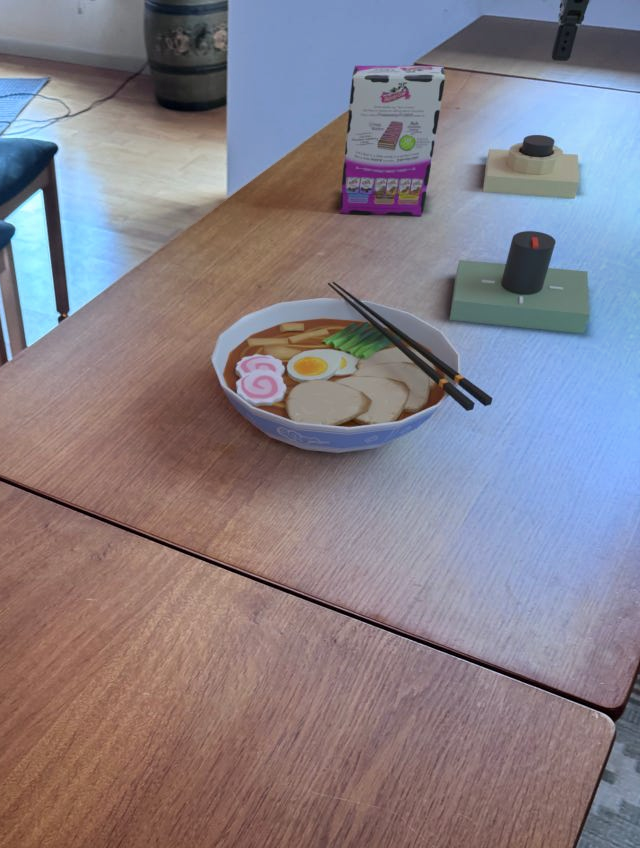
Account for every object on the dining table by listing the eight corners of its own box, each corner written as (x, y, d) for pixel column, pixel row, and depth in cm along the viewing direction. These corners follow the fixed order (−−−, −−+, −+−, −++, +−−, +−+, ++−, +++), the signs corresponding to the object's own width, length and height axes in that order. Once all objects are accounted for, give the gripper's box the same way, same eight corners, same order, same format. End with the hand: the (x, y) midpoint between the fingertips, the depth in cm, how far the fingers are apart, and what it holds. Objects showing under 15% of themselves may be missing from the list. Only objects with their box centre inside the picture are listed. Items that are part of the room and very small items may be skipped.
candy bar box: (422, 202, 123) (446, 64, 111) (422, 217, 120) (447, 77, 108) (339, 199, 125) (353, 62, 113) (337, 214, 121) (352, 75, 109)
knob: (500, 274, 102) (512, 227, 98) (541, 277, 101) (554, 229, 97) (501, 293, 99) (514, 244, 95) (543, 295, 98) (558, 247, 94)
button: (550, 149, 125) (554, 135, 124) (551, 160, 122) (554, 146, 121) (520, 147, 126) (524, 133, 124) (520, 158, 123) (523, 144, 122)
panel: (579, 296, 104) (587, 269, 102) (581, 340, 98) (590, 312, 95) (454, 284, 107) (459, 258, 105) (447, 326, 101) (453, 298, 98)
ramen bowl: (171, 387, 94) (169, 313, 88) (365, 340, 99) (376, 267, 93) (278, 532, 78) (284, 453, 72) (503, 467, 83) (526, 389, 77)
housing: (573, 171, 129) (581, 140, 126) (574, 199, 122) (583, 167, 119) (485, 164, 131) (492, 135, 128) (482, 192, 125) (489, 161, 122)
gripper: (568, -127, 108) (529, 42, 121) (570, -107, 99) (528, 73, 112) (636, -127, 106) (589, 44, 119) (643, -106, 98) (592, 76, 111)
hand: (559, 58), depth 116 cm, fingers closed
